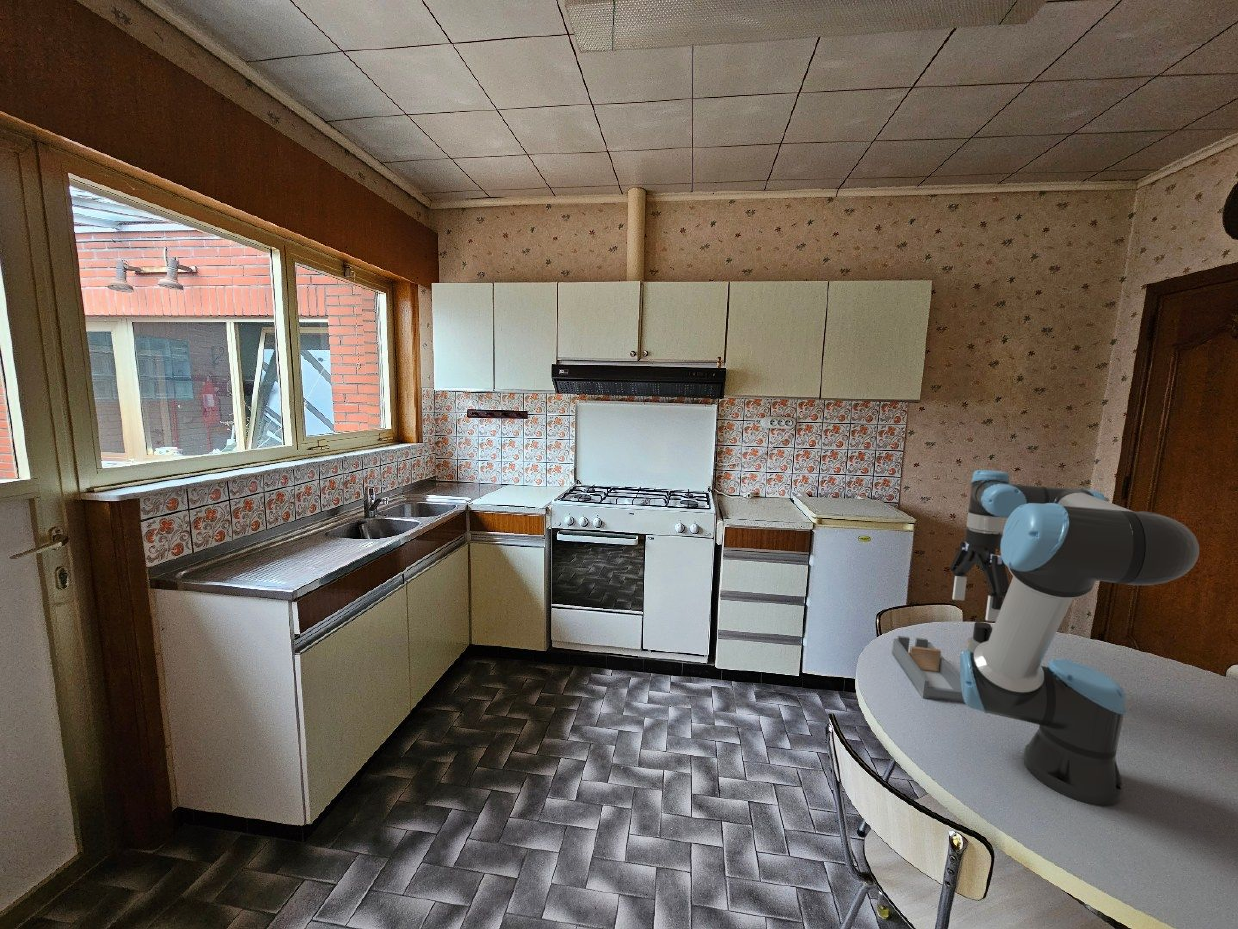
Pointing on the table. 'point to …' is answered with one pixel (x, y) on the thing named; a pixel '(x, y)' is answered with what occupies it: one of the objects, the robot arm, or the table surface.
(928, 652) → the pusher
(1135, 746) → the table surface
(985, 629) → the lotion bottle
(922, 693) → the tray
